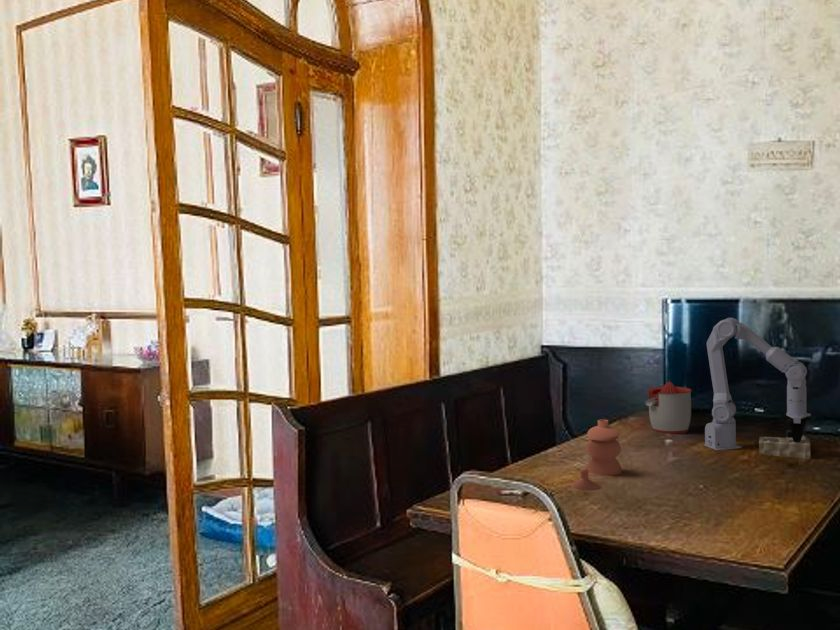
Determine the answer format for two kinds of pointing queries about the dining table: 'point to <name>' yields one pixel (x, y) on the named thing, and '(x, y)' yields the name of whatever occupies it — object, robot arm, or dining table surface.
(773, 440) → the steel peg
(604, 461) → the ceramic vessels
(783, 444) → the press block
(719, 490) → the dining table surface
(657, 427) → the citrus juicer
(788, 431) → the watch
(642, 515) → the dining table surface
